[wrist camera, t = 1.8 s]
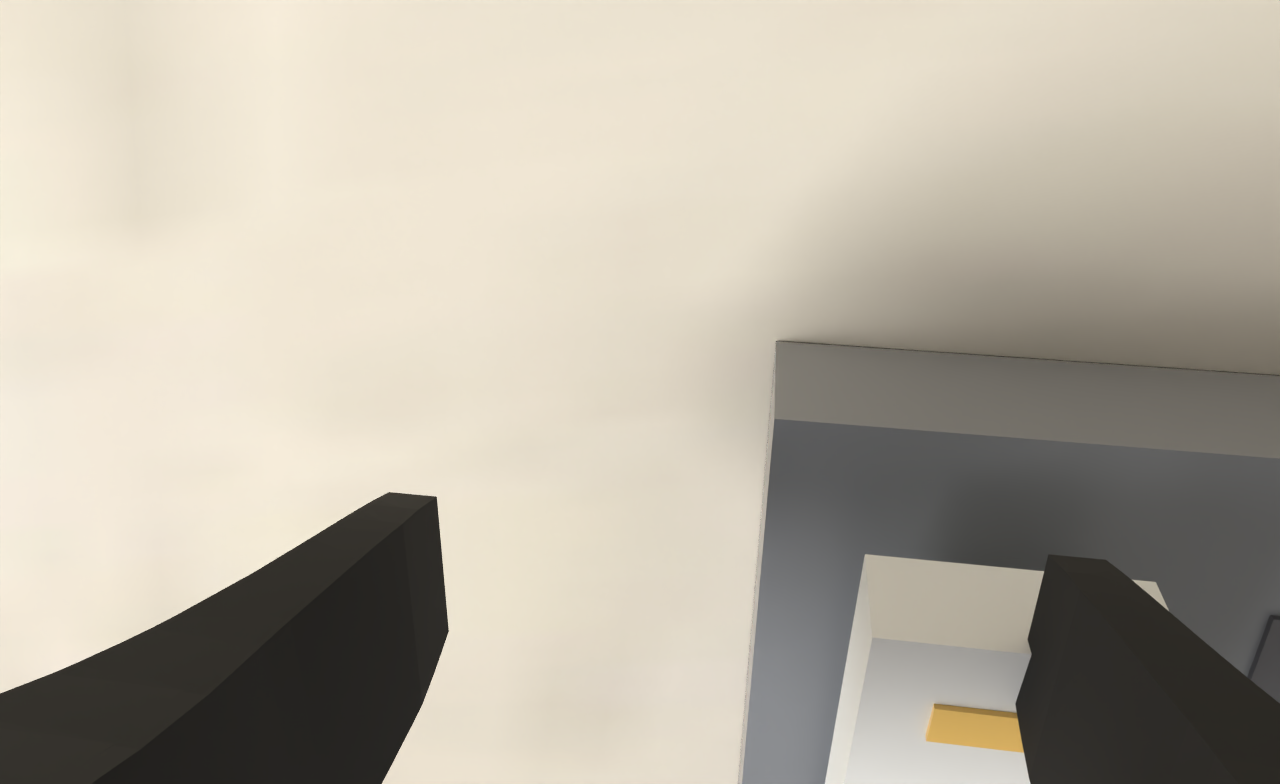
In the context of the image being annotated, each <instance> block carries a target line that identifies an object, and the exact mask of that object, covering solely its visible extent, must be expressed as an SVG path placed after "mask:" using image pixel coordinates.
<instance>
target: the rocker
mask: <svg viewBox="0 0 1280 784" xmlns="http://www.w3.org/2000/svg"><path fill="white" fill-rule="evenodd" d="M1043 574H1044V571H1036V570H1025V569H1015V568H1004V567H994V566H983V565H973V564H962V563H952V562H941V561H931V560H920V559H910V558H899V557H889V556H878V555H868V554H865V557H864V563H863V568H862V574H861V580H860V585H859V591H858V597H857V603H856V608H855V614H854V620H853V625H852V631H851V637H850V642H849V648H848V654H847V660H846V665H845V671H844V677H843V682H842V688H841V694H840V700H839V705H838V711H837V717H836V722H835V728H834V734H833V740H832V745H831V751H830V757H829V762H828V768H827V774H826V780H825V784H1031V783H1030V780H1029V776H1028V771H1027V766H1026V760H1025V755H1024V750H1023V745H1022V740H1021V735H1020V729H1019V723H1018V717H1017V711H1016V705H1015V703H1016V700H1017V697H1018V694H1019V691H1020V688H1021V685H1022V682H1023V679H1024V676H1025V673H1026V670H1027V667H1028V664H1029V661H1030V658H1031V655H1032V654H1031V650H1030V647H1029V643H1028V635H1029V631H1030V627H1031V623H1032V619H1033V615H1034V611H1035V607H1036V603H1037V599H1038V595H1039V590H1040V586H1041V582H1042V578H1043ZM1133 581H1134V582H1135V583H1136V584H1137V585H1139V586H1140V587H1141V588H1142V589H1143V590H1145V591H1146V592H1147V593H1148V594H1149V595H1150V596H1152V597H1153V598H1154V599H1155V600H1156V601H1158V602H1159V603H1160V604H1161V605H1162V606H1163V607H1165V608H1166V609H1167V610H1168V608H1167V606H1166V603H1165V601H1164V599H1163V597H1162V595H1161V592H1160V590H1159V588H1158V586H1157V584H1156V582H1151V581H1140V580H1133ZM1168 611H1169V610H1168Z"/></svg>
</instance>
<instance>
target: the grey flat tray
mask: <svg viewBox="0 0 1280 784" xmlns="http://www.w3.org/2000/svg"><path fill="white" fill-rule="evenodd" d="M865 554H868V555H878V556H889V557H899V558H910V559H920V560H931V561H941V562H952V563H962V564H973V565H983V566H994V567H1004V568H1015V569H1025V570H1036V571H1044V570H1045V566H1046V562H1047V558H1048V554H1051V555H1061V556H1072V557H1082V558H1093V559H1104V560H1107V561H1108V562H1110V563H1111V564H1112V565H1114V566H1115V567H1116V568H1118V569H1119V570H1120V571H1121V572H1123V573H1124V574H1125V575H1126V576H1128V577H1129V578H1130V579H1131V580H1140V581H1151V582H1156V584H1157V586H1158V588H1159V590H1160V592H1161V595H1162V597H1163V599H1164V601H1165V603H1166V606H1167V608H1168V610H1169V612H1170V613H1172V614H1173V615H1174V616H1175V617H1176V618H1177V619H1179V620H1180V621H1181V622H1182V623H1183V624H1184V625H1186V626H1187V627H1188V628H1189V629H1190V630H1191V631H1193V632H1194V633H1195V634H1196V635H1197V636H1198V637H1200V638H1201V639H1202V640H1203V641H1204V642H1206V643H1207V644H1208V645H1209V646H1210V647H1212V648H1213V649H1214V650H1215V651H1216V652H1217V653H1219V654H1220V655H1221V656H1222V657H1223V658H1225V659H1226V660H1227V661H1228V662H1229V663H1231V664H1232V665H1233V666H1234V667H1235V668H1237V669H1238V670H1239V671H1240V672H1242V673H1243V674H1244V675H1245V676H1246V677H1248V678H1249V679H1250V680H1251V681H1253V682H1254V683H1255V684H1256V685H1257V686H1259V687H1260V688H1261V689H1262V690H1264V691H1265V692H1266V693H1267V694H1269V695H1270V696H1271V697H1272V698H1274V699H1275V700H1276V701H1277V702H1279V703H1280V376H1276V375H1261V374H1247V373H1232V372H1217V371H1203V370H1188V369H1174V368H1159V367H1145V366H1130V365H1116V364H1101V363H1087V362H1072V361H1057V360H1043V359H1028V358H1014V357H999V356H985V355H970V354H956V353H941V352H926V351H912V350H897V349H883V348H868V347H854V346H839V345H825V344H810V343H795V342H781V341H776V348H775V360H774V371H773V383H772V395H771V406H770V418H769V429H768V441H767V453H766V464H765V476H764V487H763V499H762V511H761V522H760V534H759V545H758V557H757V569H756V580H755V592H754V604H753V615H752V627H751V638H750V650H749V662H748V673H747V685H746V696H745V708H744V720H743V731H742V743H741V755H740V766H739V778H738V784H825V780H826V774H827V768H828V762H829V757H830V751H831V745H832V740H833V734H834V728H835V722H836V717H837V711H838V705H839V700H840V694H841V688H842V682H843V677H844V671H845V665H846V660H847V654H848V648H849V642H850V637H851V631H852V625H853V620H854V614H855V608H856V603H857V597H858V591H859V585H860V580H861V574H862V568H863V563H864V557H865Z"/></svg>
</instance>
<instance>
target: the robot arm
mask: <svg viewBox="0 0 1280 784" xmlns="http://www.w3.org/2000/svg"><path fill="white" fill-rule="evenodd" d="M448 632H449V630H448V619H447V608H446V597H445V585H444V574H443V563H442V552H441V540H440V529H439V518H438V507H437V497H434V496H423V495H412V494H402V493H391V492H389V493H387V494H385V495H383V496H381V497H379V498H377V499H375V500H373V501H372V502H370V503H368V504H366V505H365V506H363V507H361V508H359V509H358V510H356V511H354V512H353V513H351V514H349V515H348V516H346V517H344V518H343V519H341V520H339V521H338V522H336V523H335V524H333V525H331V526H330V527H328V528H326V529H325V530H323V531H322V532H320V533H318V534H317V535H315V536H313V537H312V538H310V539H309V540H307V541H305V542H304V543H302V544H300V545H299V546H297V547H295V548H294V549H292V550H290V551H289V552H287V553H285V554H284V555H282V556H280V557H279V558H277V559H275V560H274V561H272V562H270V563H269V564H267V565H266V566H264V567H262V568H261V569H259V570H257V571H256V572H254V573H252V574H250V575H249V576H247V577H245V578H243V579H241V580H240V581H238V582H236V583H234V584H232V585H230V586H229V587H227V588H225V589H223V590H221V591H220V592H218V593H216V594H214V595H212V596H211V597H209V598H207V599H205V600H203V601H201V602H200V603H198V604H196V605H194V606H192V607H191V608H189V609H187V610H185V611H183V612H182V613H180V614H178V615H176V616H174V617H172V618H171V619H169V620H167V621H165V622H163V623H161V624H159V625H157V626H155V627H153V628H151V629H149V630H147V631H145V632H143V633H141V634H139V635H136V636H134V637H132V638H130V639H128V640H126V641H124V642H122V643H120V644H118V645H115V646H113V647H111V648H109V649H107V650H104V651H102V652H100V653H98V654H95V655H93V656H91V657H89V658H87V659H84V660H82V661H80V662H78V663H76V664H73V665H71V666H69V667H66V668H64V669H62V670H59V671H57V672H55V673H52V674H50V675H47V676H45V677H42V678H39V679H37V680H34V681H32V682H29V683H27V684H24V685H21V686H19V687H16V688H14V689H11V690H8V691H6V692H3V693H1V694H0V784H382V782H383V780H384V778H385V776H386V774H387V772H388V771H389V769H390V767H391V765H392V763H393V761H394V759H395V757H396V755H397V753H398V751H399V749H400V747H401V745H402V743H403V742H404V740H405V738H406V736H407V734H408V732H409V730H410V728H411V726H412V724H413V722H414V720H415V718H416V716H417V714H418V712H419V710H420V708H421V706H422V704H423V701H424V699H425V696H426V693H427V691H428V688H429V685H430V683H431V680H432V677H433V675H434V672H435V669H436V666H437V663H438V661H439V658H440V655H441V652H442V649H443V646H444V643H445V640H446V637H447V634H448ZM1028 643H1029V647H1030V650H1031V654H1032V655H1031V658H1030V661H1029V664H1028V667H1027V670H1026V673H1025V676H1024V679H1023V682H1022V685H1021V688H1020V691H1019V694H1018V697H1017V700H1016V703H1015V705H1016V711H1017V717H1018V723H1019V729H1020V735H1021V740H1022V745H1023V750H1024V755H1025V760H1026V766H1027V771H1028V776H1029V780H1030V783H1031V784H1280V703H1279V702H1277V701H1276V700H1275V699H1274V698H1272V697H1271V696H1270V695H1269V694H1267V693H1266V692H1265V691H1264V690H1262V689H1261V688H1260V687H1259V686H1257V685H1256V684H1255V683H1254V682H1253V681H1251V680H1250V679H1249V678H1248V677H1246V676H1245V675H1244V674H1243V673H1242V672H1240V671H1239V670H1238V669H1237V668H1235V667H1234V666H1233V665H1232V664H1231V663H1229V662H1228V661H1227V660H1226V659H1225V658H1223V657H1222V656H1221V655H1220V654H1219V653H1217V652H1216V651H1215V650H1214V649H1213V648H1212V647H1210V646H1209V645H1208V644H1207V643H1206V642H1204V641H1203V640H1202V639H1201V638H1200V637H1198V636H1197V635H1196V634H1195V633H1194V632H1193V631H1191V630H1190V629H1189V628H1188V627H1187V626H1186V625H1184V624H1183V623H1182V622H1181V621H1180V620H1179V619H1177V618H1176V617H1175V616H1174V615H1173V614H1172V613H1170V612H1169V611H1168V610H1167V609H1166V608H1165V607H1163V606H1162V605H1161V604H1160V603H1159V602H1158V601H1156V600H1155V599H1154V598H1153V597H1152V596H1150V595H1149V594H1148V593H1147V592H1146V591H1145V590H1143V589H1142V588H1141V587H1140V586H1139V585H1137V584H1136V583H1135V582H1134V581H1133V580H1131V579H1130V578H1129V577H1128V576H1126V575H1125V574H1124V573H1123V572H1121V571H1120V570H1119V569H1118V568H1116V567H1115V566H1114V565H1112V564H1111V563H1110V562H1108V561H1107V560H1104V559H1093V558H1082V557H1072V556H1061V555H1051V554H1048V558H1047V562H1046V566H1045V570H1044V574H1043V578H1042V582H1041V586H1040V590H1039V595H1038V599H1037V603H1036V607H1035V611H1034V615H1033V619H1032V623H1031V627H1030V631H1029V635H1028Z"/></svg>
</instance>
